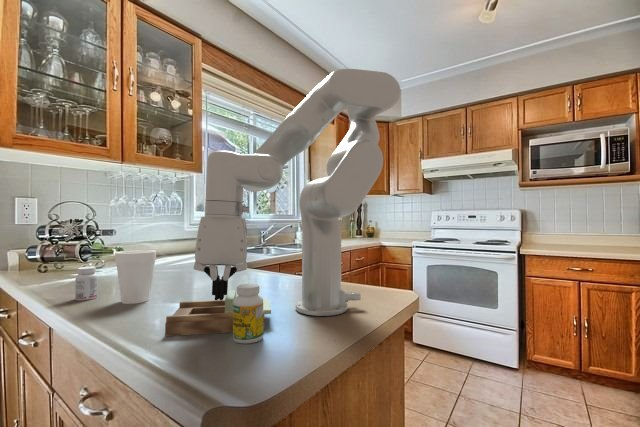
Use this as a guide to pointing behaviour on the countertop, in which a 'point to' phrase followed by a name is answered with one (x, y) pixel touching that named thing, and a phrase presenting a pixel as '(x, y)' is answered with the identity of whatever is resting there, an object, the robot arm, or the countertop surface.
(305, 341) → the countertop surface
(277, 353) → the countertop surface
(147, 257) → the foam cup
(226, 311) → the cover
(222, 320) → the wooden tray
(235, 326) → the supplement bottle
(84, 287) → the pill bottle
